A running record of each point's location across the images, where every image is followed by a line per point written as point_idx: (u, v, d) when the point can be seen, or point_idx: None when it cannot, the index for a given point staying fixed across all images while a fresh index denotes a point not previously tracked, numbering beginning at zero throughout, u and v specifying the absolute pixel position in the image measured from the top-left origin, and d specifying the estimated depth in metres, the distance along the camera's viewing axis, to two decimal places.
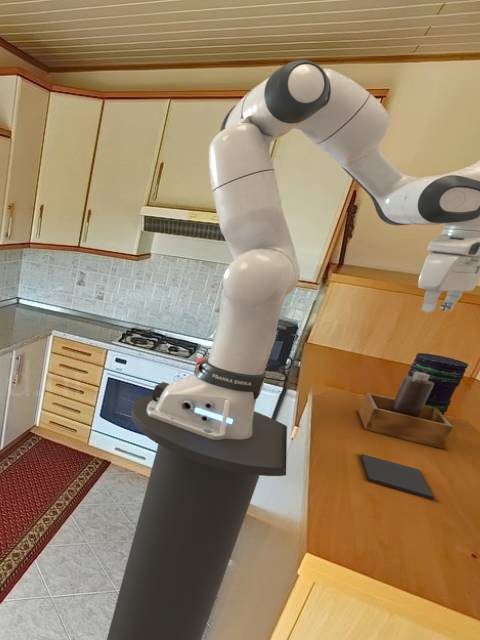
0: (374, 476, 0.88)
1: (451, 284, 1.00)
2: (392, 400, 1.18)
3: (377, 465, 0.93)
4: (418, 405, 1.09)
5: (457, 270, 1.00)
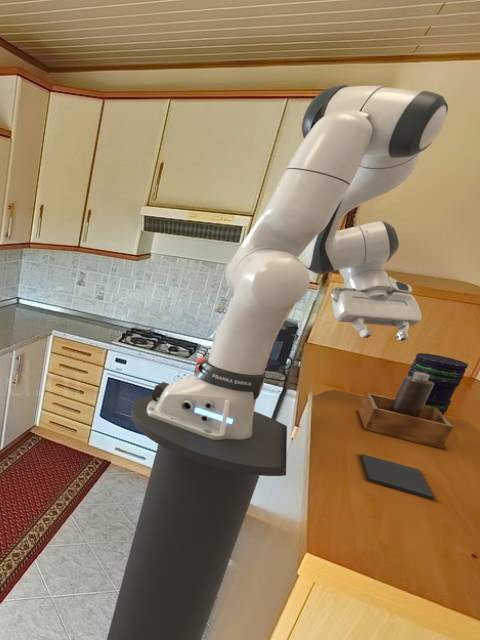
0: (374, 476, 0.88)
1: None
2: (392, 400, 1.18)
3: (377, 465, 0.93)
4: (418, 405, 1.09)
5: None
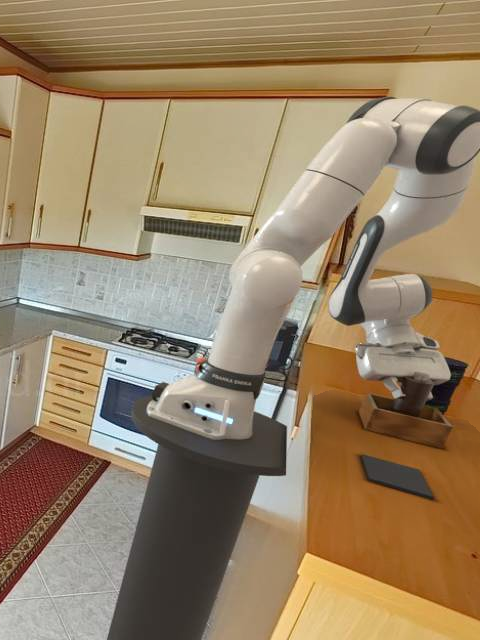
0: (374, 476, 0.88)
1: None
2: (392, 400, 1.18)
3: (377, 465, 0.93)
4: (418, 405, 1.09)
5: None
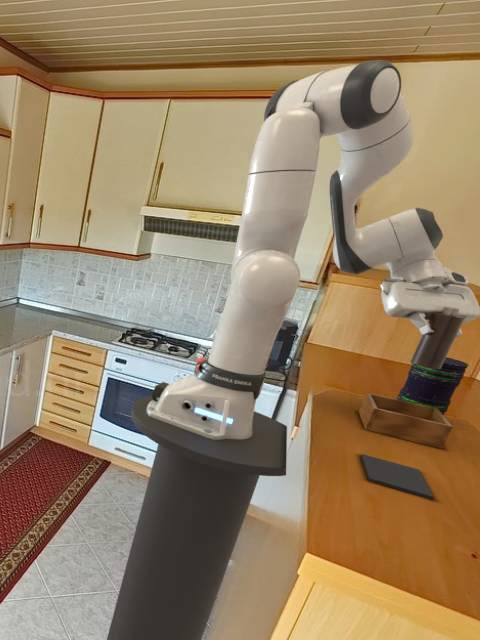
0: (374, 476, 0.88)
1: None
2: (392, 400, 1.18)
3: (377, 465, 0.93)
4: (447, 341, 1.04)
5: None
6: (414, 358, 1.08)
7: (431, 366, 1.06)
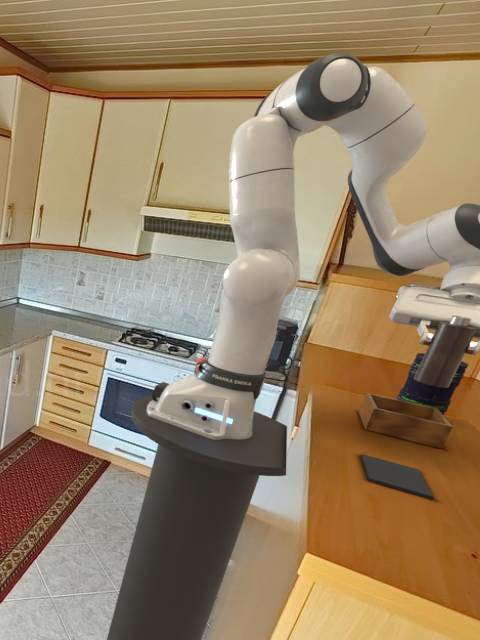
0: (374, 476, 0.88)
1: None
2: (392, 400, 1.18)
3: (377, 465, 0.93)
4: (442, 353, 0.90)
5: None
6: None
7: (424, 381, 0.93)
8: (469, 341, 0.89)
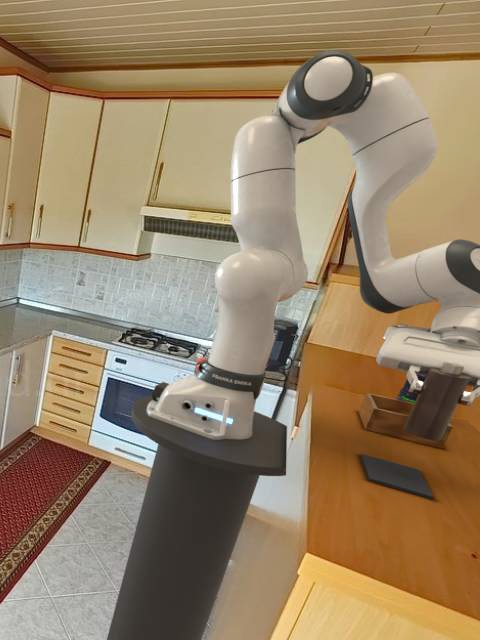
0: (374, 476, 0.88)
1: None
2: (392, 400, 1.18)
3: (377, 465, 0.93)
4: (434, 404, 0.83)
5: None
6: None
7: (414, 432, 0.86)
8: (462, 391, 0.81)
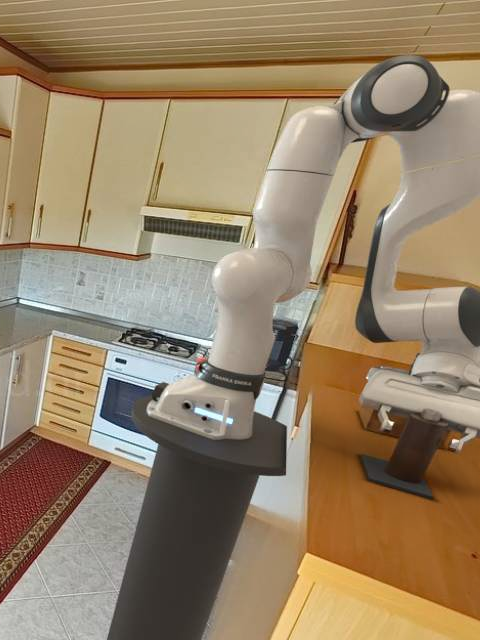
0: (374, 476, 0.88)
1: None
2: None
3: (377, 465, 0.93)
4: (413, 449, 0.86)
5: None
6: None
7: (395, 475, 0.89)
8: (440, 437, 0.84)
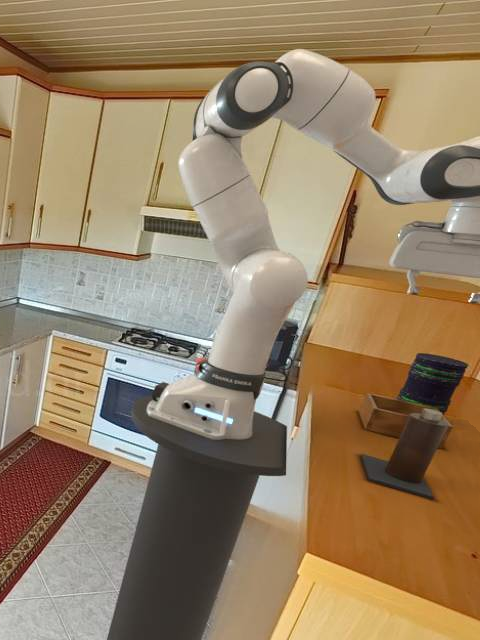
0: (374, 476, 0.88)
1: None
2: (392, 400, 1.18)
3: (377, 465, 0.93)
4: (413, 449, 0.86)
5: None
6: None
7: (395, 475, 0.89)
8: (440, 437, 0.84)
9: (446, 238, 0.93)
